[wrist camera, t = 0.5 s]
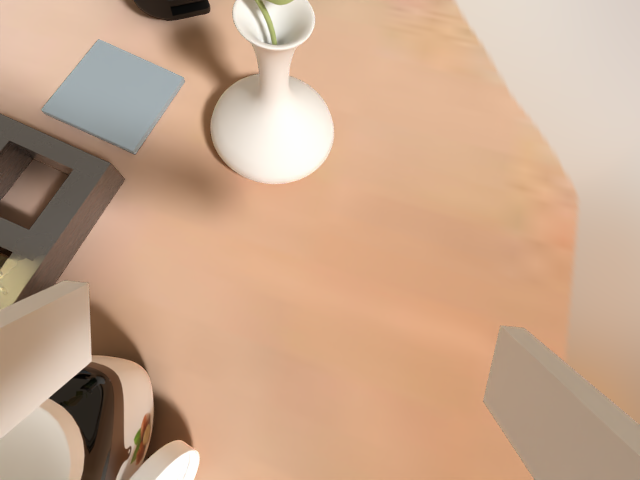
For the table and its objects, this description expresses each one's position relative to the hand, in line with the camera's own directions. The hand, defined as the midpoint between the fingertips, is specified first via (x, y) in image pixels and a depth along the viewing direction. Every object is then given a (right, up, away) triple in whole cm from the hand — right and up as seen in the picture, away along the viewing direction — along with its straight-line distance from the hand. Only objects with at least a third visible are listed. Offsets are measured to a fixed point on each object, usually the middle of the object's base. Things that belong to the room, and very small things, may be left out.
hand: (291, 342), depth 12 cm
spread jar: (-13, -12, +16) cm, 24 cm away
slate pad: (-18, +17, +23) cm, 34 cm away
